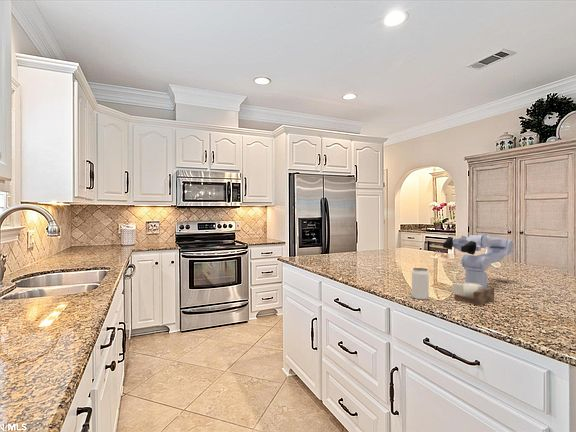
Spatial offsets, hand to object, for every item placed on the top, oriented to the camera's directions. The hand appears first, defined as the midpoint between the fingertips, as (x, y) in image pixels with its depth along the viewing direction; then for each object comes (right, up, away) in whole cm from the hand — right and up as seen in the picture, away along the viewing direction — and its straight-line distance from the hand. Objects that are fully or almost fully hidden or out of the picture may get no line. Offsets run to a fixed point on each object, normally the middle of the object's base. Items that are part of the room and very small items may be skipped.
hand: (452, 247), depth 140 cm
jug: (+3, -21, -5) cm, 22 cm away
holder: (+4, -21, -6) cm, 22 cm away
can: (-15, -21, -3) cm, 26 cm away
